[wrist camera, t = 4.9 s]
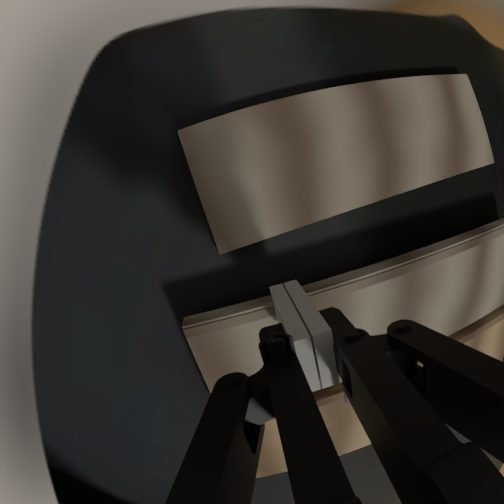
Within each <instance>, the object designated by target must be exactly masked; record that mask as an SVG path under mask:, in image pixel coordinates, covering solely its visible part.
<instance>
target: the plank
mask: <svg viewBox="0 0 504 504" xmlns="http://www.w3.org/2000/svg"><path fill="white" fill-rule="evenodd" d="M178 135H179V138H180V141H181V144H182V147H183V150H184V153H185V156H186V159H187V162H188V165H189V168H190V171H191V174H192V177H193V180H194V183H195V186H196V189H197V191H198V194H199V197H200V200H201V203H202V206H203V209H204V212H205V215H206V217H207V220H208V223H209V226H210V229H211V232H212V234H213V237H214V240H215V243H216V246H217V248H218V251H219V254H220V255H221V254H224V253H227V252H230V251H232V250H235V249H238V248H241V247H244V246H247V245H250V244H253V243H256V242H259V241H261V240H264V239H267V238H270V237H273V236H276V235H279V234H282V233H285V232H288V231H291V230H294V229H296V228H299V227H302V226H305V225H308V224H311V223H314V222H317V221H320V220H323V219H326V218H329V217H332V216H335V215H338V214H341V213H344V212H347V211H350V210H352V209H355V208H358V207H361V206H364V205H367V204H370V203H373V202H376V201H379V200H382V199H385V198H388V197H391V196H394V195H397V194H400V193H403V192H406V191H409V190H412V189H415V188H418V187H421V186H424V185H427V184H430V183H433V182H436V181H439V180H442V179H446V178H449V177H452V176H455V175H458V174H461V173H464V172H467V171H470V170H473V169H476V168H479V167H482V166H485V165H488V164H491V163H494V159H493V155H492V151H491V147H490V143H489V139H488V135H487V132H486V128H485V125H484V121H483V118H482V115H481V112H480V109H479V106H478V103H477V100H476V97H475V94H474V92H473V89H472V86H471V84H470V81H469V79H468V76H467V74H449V75H428V76H414V77H403V78H393V79H384V80H376V81H369V82H362V83H356V84H349V85H343V86H338V87H332V88H327V89H322V90H317V91H312V92H307V93H303V94H298V95H294V96H290V97H286V98H281V99H277V100H273V101H270V102H266V103H262V104H258V105H255V106H251V107H248V108H244V109H241V110H237V111H234V112H231V113H228V114H224V115H221V116H218V117H215V118H212V119H209V120H206V121H203V122H200V123H197V124H195V125H192V126H189V127H186V128H183V129H181V130H178Z"/></svg>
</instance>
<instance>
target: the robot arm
mask: <svg viewBox="0 0 504 504" xmlns="http://www.w3.org/2000/svg"><path fill="white" fill-rule="evenodd" d="M284 287H285V288H284ZM284 287H283V285H282V284H278V285H274V286H271V287H269V289H270V293H271V297H272V300H273V304H274V308H275V312H276V316H277V320H278V324H275V325H271V326H267V327H264V328H261V330H260V332H259V339H260V343H259V346H258V347H259V350H260V354H261V357H262V360H263V364H264V365H263V367H262V368H261V369H260V370H259V371H258V372H256V373H255V374H253V375H251V376H249V377H248V376H247V375H246V374H244V373H241V372H233V373H229V374H226V375H224V376H222V377H221V378H219V379H218V380H217V382H216V383H215V385H214V388H213V390H212V392H211V395H210V397H209V400H208V402H207V405H206V407H205V410H204V412H203V414H202V417H201V419H200V422H199V424H198V427H197V429H196V431H195V434H194V436H193V439H192V441H191V443H190V446H189V448H188V451H187V453H186V455H185V458H184V460H183V462H182V465H181V467H180V470H179V472H178V474H177V477H176V479H175V481H174V484H173V486H172V488H171V491H170V493H169V495H168V498H167V500H166V502H165V504H250V503H251V499H252V494H253V489H254V484H255V479H256V473H257V468H258V463H259V458H260V452H261V447H262V441H263V436H264V430H265V422H267V421H269V420H271V419H273V418H276V422H277V427H278V431H279V435H280V440H281V444H282V449H283V453H284V457H285V462H286V466H287V470H288V475H289V479H290V483H291V488H292V492H293V496H294V500H295V504H362V503H361V501H360V499H359V498H358V497H357V496H355V494H354V492H353V490H352V487H351V485H350V483H349V480H348V478H347V475H346V473H345V471H344V468H343V466H342V463H341V461H340V458H339V456H338V454H337V451H336V449H335V446H334V444H333V442H332V439H331V437H330V434H329V432H328V429H327V427H326V425H325V422H324V420H323V417H322V415H321V413H320V410H319V408H318V405H317V403H316V401H315V398H314V396H313V393H312V392H314V391H317V390H320V384H321V386H322V388H327V387H330V386H333V385H336V384H339V383H340V382H339V376H340V378H341V379H342V385H343V392H344V400H345V402H347V398H348V400H349V401H350V403H351V405H352V407H353V409H354V411H355V413H356V415H357V417H358V419H359V421H360V422H361V424H362V426H363V428H364V430H365V432H366V434H367V436H368V438H369V440H370V442H371V444H372V446H373V448H374V449H375V451H376V453H377V455H378V457H379V459H380V461H381V463H382V465H383V467H384V469H385V471H386V473H387V475H388V477H389V479H390V481H391V483H392V485H393V487H394V489H395V491H396V493H397V495H398V497H399V499H400V501H401V503H402V504H504V477H503V475H502V474H501V473H500V472H499V470H498V469H497V468H496V467H495V465H494V464H493V463H492V462H491V461H490V459H489V458H488V457H487V456H486V454H485V453H484V452H483V451H482V450H481V448H482V449H483V450H485V451H486V452H488V453H489V454H491V455H492V456H494V457H495V458H497V459H498V460H500V461H501V462H503V463H504V362H502V361H500V360H498V359H496V358H493V357H491V356H489V355H487V354H485V353H483V352H480V351H478V350H476V349H474V348H472V347H469V346H467V345H465V344H463V343H461V342H459V341H456V340H454V339H452V338H450V337H448V336H446V335H443V334H441V333H439V332H437V331H435V330H432V329H430V328H428V327H426V326H424V325H421V324H419V323H417V322H415V321H412V320H405V319H402V320H397V321H395V322H392V323H391V324H390V325H389V326H388V327H387V333H386V334H381V335H369V333H368V332H367V331H365V330H364V329H360V328H355V327H354V326H353V324H352V323H351V322H350V321H349V320H348V319H347V317H346V316H345V315H344V314H343V313H342V312H341V310H340V309H337V308H335V307H330V308H326V309H323V310H320V311H318V310H317V308H316V307H315V306H314V304H313V303H312V301H311V300H310V298H309V297H308V296H307V294H306V293H305V291H304V290H303V288H302V287H301V286H300V284H299V283H298V281H297V280H292V281H289V282H285V283H284ZM418 362H420V363H422V364H423V367H422V366H420V365H418ZM338 374H339V375H338ZM319 381H320V384H319ZM445 423H446V424H447V425H449V426H450V427H452V428H453V429H454V430H456V431H457V432H459V433H460V434H462V435H463V436H464V437H466V438H467V439H469V440H470V441H472V442H468V443H465V444H463V443H461V442H460V441H459V440H458V439H457V438H456V437H455V435H454V434H453V433H452V432H451V430H450V429H449V428H448V427H447V425H446V424H445ZM477 445H478V446H477Z"/></svg>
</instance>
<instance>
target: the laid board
mask: <svg viewBox="0 0 504 504" xmlns="http://www.w3.org/2000/svg"><path fill="white" fill-rule="evenodd" d="M448 337H450V338H452V339H454V340H456V341H459V342H461V343H463V344H465V345H467V346H469V347H472V348H474V349H476V350H478V351H480V352H483V353H485V354H487V355H489V356H491V357H493V358H496V359H498V360H500V361H503V356H504V305H501V306H500V307H498V308H497V309H495V310H493V311H492V312H490V313H489V314H487V315H485V316H484V317H482V318H480V319H478V320H477V321H475V322H473V323H471V324H470V325H468V326H466V327H464V328H463V329H461V330H459V331H457V332H455V333H453V334H451V335H449V336H448ZM418 365H420V366H422V367H423V364H422V363H420V362H418ZM312 393H313V396H314V398H315V401H316V403H317V405H318V408H319V410H320V413H321V415H322V417H323V420H324V422H325V425H326V427H327V429H328V432H329V434H330V437H331V439H332V442H333V444H334V446H335V449H336V451H337V454H338V456H340V455H343V454H346V453H349V452H351V451H354V450H357V449H359V448H362V447H365V446H367V445H370V444H371V442H370V440H369V438H368V436H367V434H366V432H365V430H364V428H363V426H362V424H361V422H360V421H359V419H358V417H357V415H356V413H355V411H354V409H353V407H352V405H351V403H350V401H349V400H348V398H347V402H345V400H344V392H343V385H342V382H341V383H339V384H336V385H333V386H330V387H327V388H323V389H320V390H317V391H314V392H312ZM286 471H288V470H287V466H286V462H285V457H284V453H283V449H282V444H281V440H280V435H279V431H278V427H277V422H276V418H273V419H271V420H269V421H267V422H265V430H264V436H263V441H262V447H261V452H260V458H259V463H258V468H257V473H256V478H260V477H264V476H269V475H274V474H278V473H282V472H286Z"/></svg>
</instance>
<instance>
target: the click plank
mask: <svg viewBox="0 0 504 504" xmlns="http://www.w3.org/2000/svg"><path fill="white" fill-rule="evenodd" d="M301 287H302V288H303V290H304V291H305V293H306V294H307V296H308V297H309V298H310V300H311V301H312V303H313V304H314V306H315V307H316V308H317V310H318V311H320V310H323V309H326V308H330V307H335V308H337V309H340V310H341V312H342V313H343V314H344V315H345V316H346V317H347V319H348V320H349V321H350V322H351V323H352V324H353V326H354V327H355V328H360V329H364V330H365V331H367V332H368V333H369V335H381V334H386V333H387V327H388V326H389V325H390V324H391V323H392V322H395V321H397V320H402V319H405V320H412V321H415V322H417V323H419V324H421V325H424V326H426V327H428V328H430V329H432V330H435V331H437V332H439V333H441V334H443V335H446V336H449V335H451V334H453V333H455V332H457V331H459V330H461V329H463V328H464V327H466V326H468V325H470V324H471V323H473V322H475V321H477V320H478V319H480V318H482V317H484V316H485V315H487V314H489V313H490V312H492V311H493V310H495V309H497V308H498V307H500V306H501V305H503V304H504V218H502V219H499V220H497V221H494V222H492V223H489V224H486V225H484V226H481V227H479V228H476V229H473V230H471V231H468V232H465V233H462V234H460V235H457V236H454V237H451V238H449V239H446V240H443V241H440V242H437V243H435V244H432V245H429V246H426V247H423V248H420V249H417V250H414V251H411V252H408V253H406V254H403V255H400V256H397V257H394V258H391V259H387V260H384V261H381V262H378V263H375V264H372V265H369V266H366V267H363V268H359V269H356V270H353V271H350V272H347V273H343V274H340V275H337V276H334V277H330V278H327V279H324V280H320V281H317V282H314V283H310V284H307V285H303V286H301ZM275 324H278V320H277V316H276V312H275V308H274V304H273V300H272V297H271V295H268V296H265V297H261V298H257V299H254V300H250V301H246V302H242V303H239V304H235V305H231V306H227V307H223V308H219V309H216V310H212V311H208V312H204V313H200V314H196V315H192V316H188V317H184V318H183V323H182V328H183V332H184V334H185V337H186V338H187V341H188V343H189V346H190V348H191V350H192V353H193V355H194V357H195V360H196V362H197V364H198V367H199V369H200V371H201V373H202V376H203V378H204V380H205V382H206V384H207V387H208V389H209V391H210V393H211V392H212V390H213V388H214V385H215V383H216V382H217V380H218V379H219V378H221V377H222V376H224V375H226V374H229V373H233V372H241V373H244V374H246V375H247V376H248V377H249V376H251V375H253V374H255V373H256V372H258V371H259V370H260V369H261V368H262V367H263V365H264V364H263V360H262V357H261V354H260V350H259V347H258V346H259V343H260V339H259V332H260V330H261V328H264V327H267V326H271V325H275ZM338 375H339V374H338ZM339 382H340V383H341V382H342V379H341V378H340V376H339ZM319 384H320V381H319ZM320 389H323V388H322V386H321V384H320Z"/></svg>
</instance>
